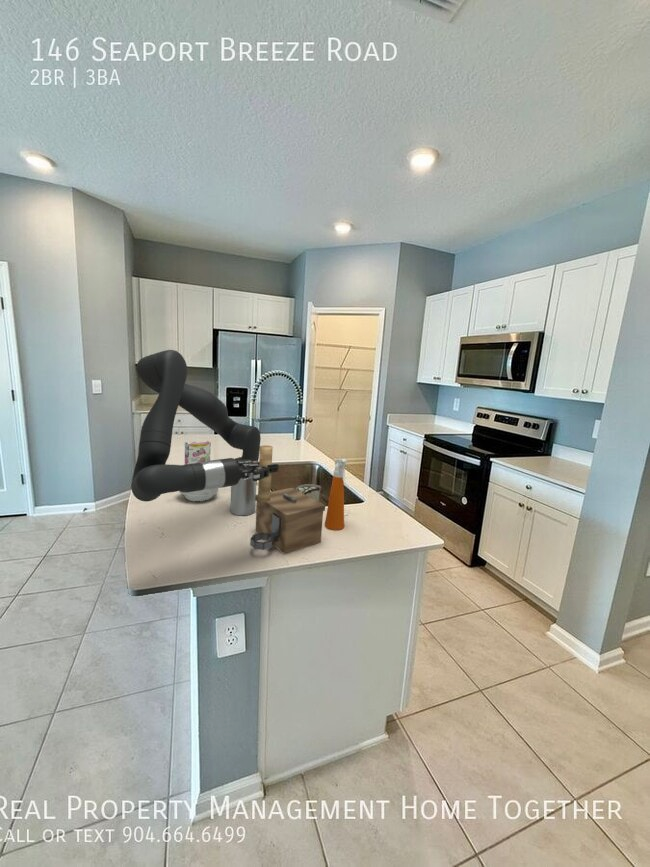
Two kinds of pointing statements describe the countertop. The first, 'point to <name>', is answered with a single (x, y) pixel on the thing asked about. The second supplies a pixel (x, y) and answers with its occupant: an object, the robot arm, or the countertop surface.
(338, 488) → the spray bottle
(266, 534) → the hasp
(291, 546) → the toolbox
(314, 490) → the food container
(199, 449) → the candy bar box
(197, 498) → the paper bowls
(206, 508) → the countertop surface
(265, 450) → the tan wooden cylinder
